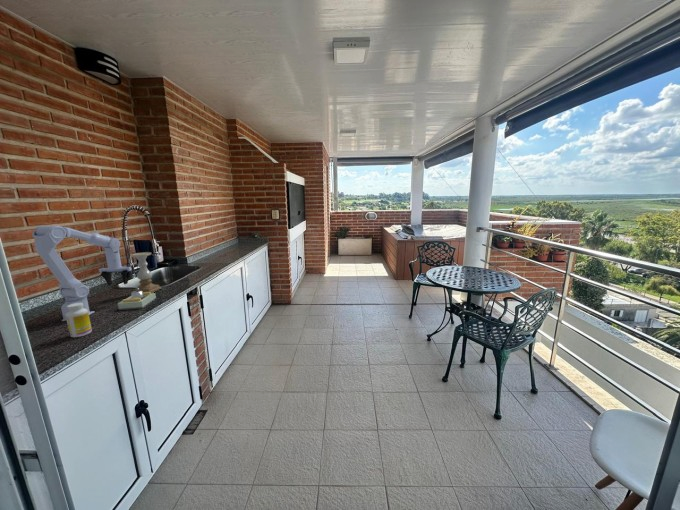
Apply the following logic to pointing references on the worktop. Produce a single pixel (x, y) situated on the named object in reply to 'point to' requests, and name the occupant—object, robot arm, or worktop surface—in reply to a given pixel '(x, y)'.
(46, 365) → the worktop surface
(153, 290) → the candle holder
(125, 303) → the pale green tray
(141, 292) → the spout can
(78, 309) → the supplement bottle
